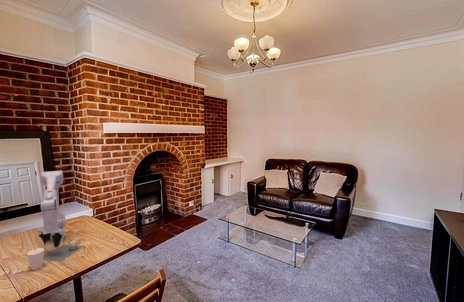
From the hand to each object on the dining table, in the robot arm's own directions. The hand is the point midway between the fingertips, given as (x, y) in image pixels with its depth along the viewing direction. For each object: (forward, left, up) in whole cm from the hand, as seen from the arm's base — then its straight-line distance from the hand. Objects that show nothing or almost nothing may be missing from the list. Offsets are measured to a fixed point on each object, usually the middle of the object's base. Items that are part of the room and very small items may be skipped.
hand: (52, 245), depth 116 cm
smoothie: (+3, -11, -7) cm, 13 cm away
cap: (0, 0, -1) cm, 1 cm away
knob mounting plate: (+3, +2, -6) cm, 8 cm away
